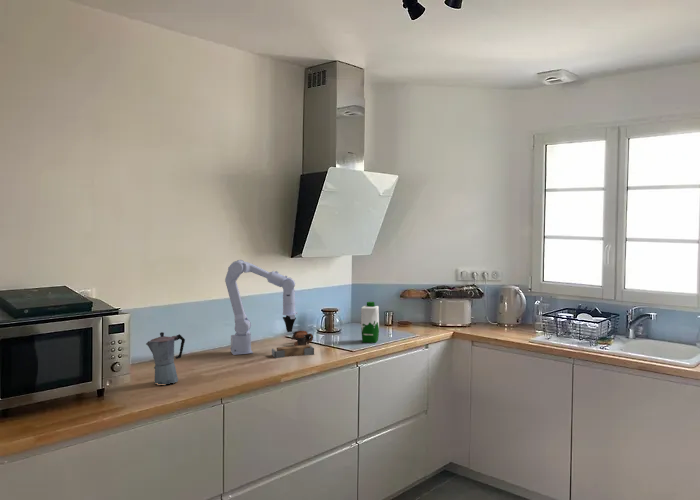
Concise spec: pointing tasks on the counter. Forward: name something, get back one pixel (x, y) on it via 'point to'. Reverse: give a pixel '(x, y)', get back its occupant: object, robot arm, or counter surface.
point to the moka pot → (165, 358)
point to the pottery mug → (302, 338)
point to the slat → (293, 350)
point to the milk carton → (370, 323)
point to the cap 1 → (278, 353)
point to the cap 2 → (309, 351)
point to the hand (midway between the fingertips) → (289, 331)
